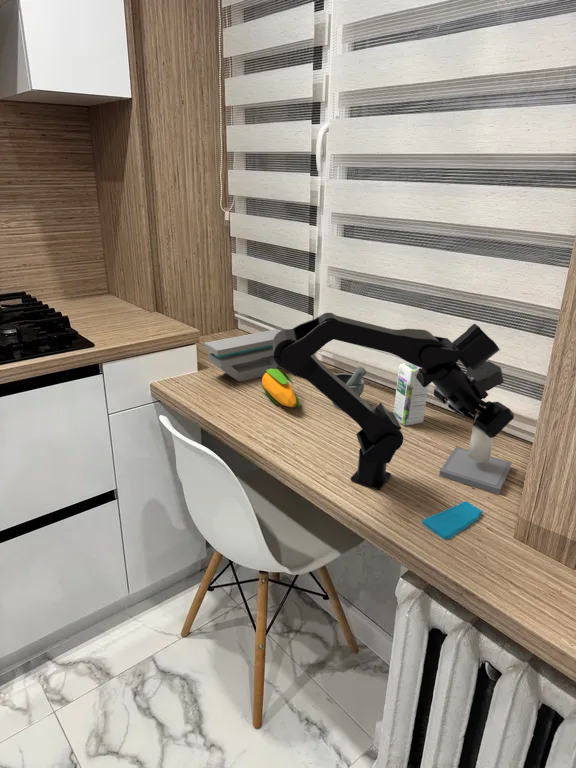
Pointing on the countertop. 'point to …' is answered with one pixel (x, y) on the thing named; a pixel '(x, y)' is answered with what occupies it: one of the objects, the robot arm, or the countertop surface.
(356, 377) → the mortar and pestle
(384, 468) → the robot arm
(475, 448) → the spice jar
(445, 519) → the sponge
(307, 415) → the countertop surface
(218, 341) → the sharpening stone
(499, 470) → the slate trivet
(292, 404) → the corn
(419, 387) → the syrup box
